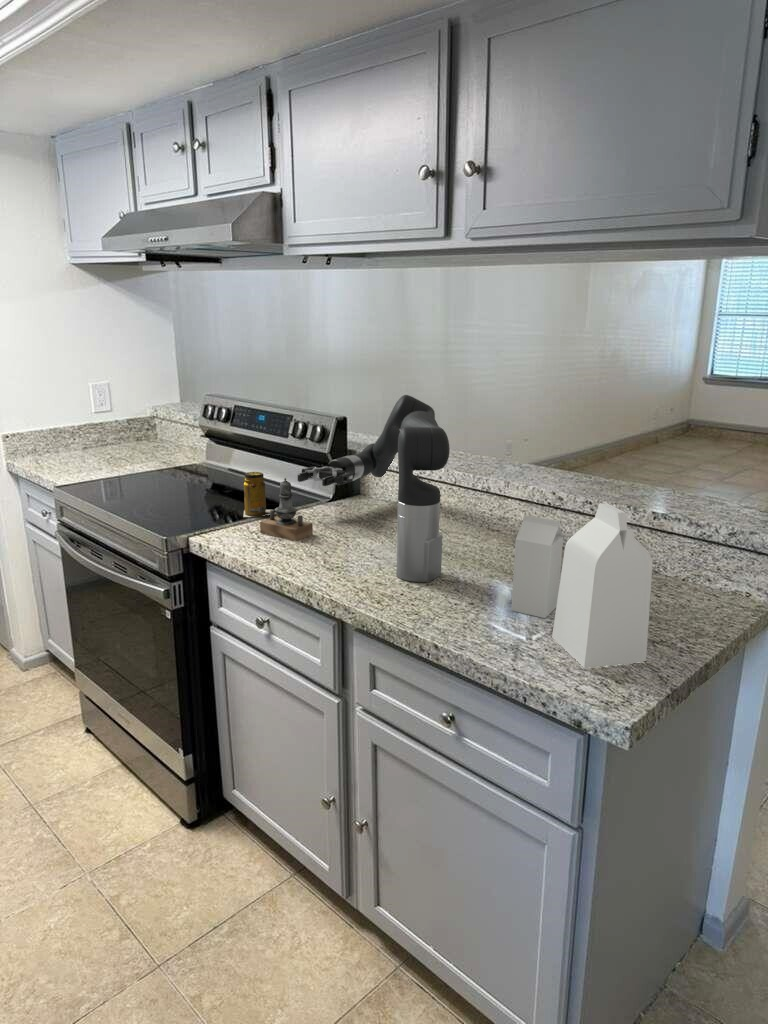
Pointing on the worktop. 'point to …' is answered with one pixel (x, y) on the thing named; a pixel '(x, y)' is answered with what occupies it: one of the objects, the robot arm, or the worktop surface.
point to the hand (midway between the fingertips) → (310, 480)
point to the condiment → (254, 495)
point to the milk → (604, 593)
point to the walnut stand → (286, 528)
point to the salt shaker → (285, 505)
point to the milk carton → (537, 566)
